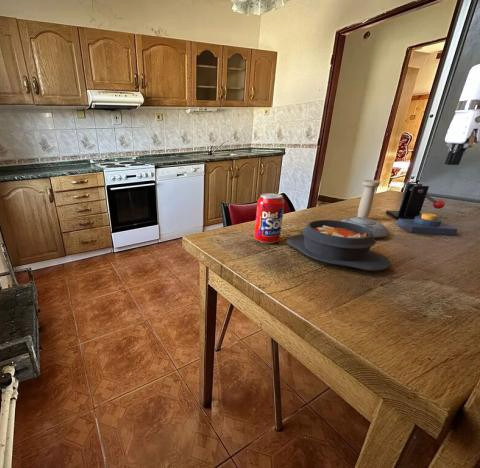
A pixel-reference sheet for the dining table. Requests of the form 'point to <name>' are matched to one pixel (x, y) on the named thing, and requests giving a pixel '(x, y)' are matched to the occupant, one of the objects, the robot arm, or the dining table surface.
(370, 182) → the handle
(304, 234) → the casserole
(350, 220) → the flying saucer
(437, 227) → the button box
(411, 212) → the bracket
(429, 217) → the button
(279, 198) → the soda can
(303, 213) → the dining table surface
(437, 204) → the lever
